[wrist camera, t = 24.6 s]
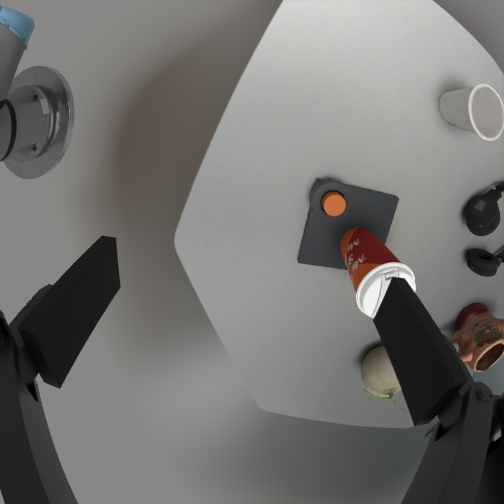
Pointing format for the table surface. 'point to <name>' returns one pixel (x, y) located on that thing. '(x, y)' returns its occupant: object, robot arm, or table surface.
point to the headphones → (484, 230)
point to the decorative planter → (479, 337)
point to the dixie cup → (474, 110)
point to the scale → (343, 221)
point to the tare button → (333, 203)
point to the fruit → (380, 375)
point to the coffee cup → (371, 268)
